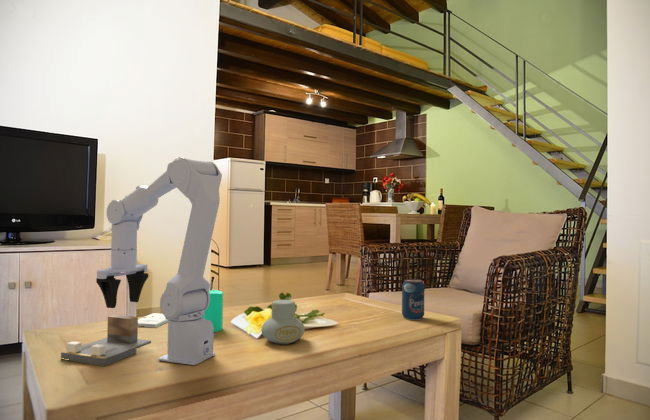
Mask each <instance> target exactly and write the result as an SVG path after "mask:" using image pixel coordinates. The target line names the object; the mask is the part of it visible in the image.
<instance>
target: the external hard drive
mask: <svg viewBox="0 0 650 420" xmlns="http://www.w3.org/2000/svg"><path fill="white" fill-rule="evenodd" d="M152 316H154V317H152ZM144 317H146V318H143V317H141V318H138V328H152V329H153V328H154V329H156V328H158V327H160V326H162V325H164V324H167V323H168V320H167V319H165V316H164V315H163V313H158V312H155V313H154V312H152V313H150V314H148V315H144Z"/></svg>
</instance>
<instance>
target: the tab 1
mask: <svg viewBox="0 0 650 420" xmlns="http://www.w3.org/2000/svg"><path fill="white" fill-rule="evenodd" d="M81 346H83V345H82V342H80V341H76V340H75V341H70V342H67V343H66V351H67V352H73V353H76V352H79V351H81Z"/></svg>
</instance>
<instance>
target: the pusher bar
mask: <svg viewBox="0 0 650 420" xmlns="http://www.w3.org/2000/svg"><path fill="white" fill-rule="evenodd" d="M138 319H139V317H138V316H132V315H130V316H129V315H123V314H121V315H120V314H112V315H108V316H107V328H106V329H107V330H106V331H107V336H106V338H107V341H110V342H118V343H126V344H132V343H135V342H137V339H138V337H139V336H138V335H139V334H138V331H139V329H138V328H139V327H138Z"/></svg>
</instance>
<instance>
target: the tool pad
mask: <svg viewBox="0 0 650 420" xmlns="http://www.w3.org/2000/svg"><path fill="white" fill-rule="evenodd" d="M151 341H152V340H149V339H142V338H141V339H140V338H137V342H135V343H132V344H126V343H118V342H110V341H107V337H105V338H101V339H97V340H95V341H94V342H102V343H110V344H117V345H125V346H133V347H136V349H137V348H140V347H142V346H145V345H147V344H150V343H151Z"/></svg>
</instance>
